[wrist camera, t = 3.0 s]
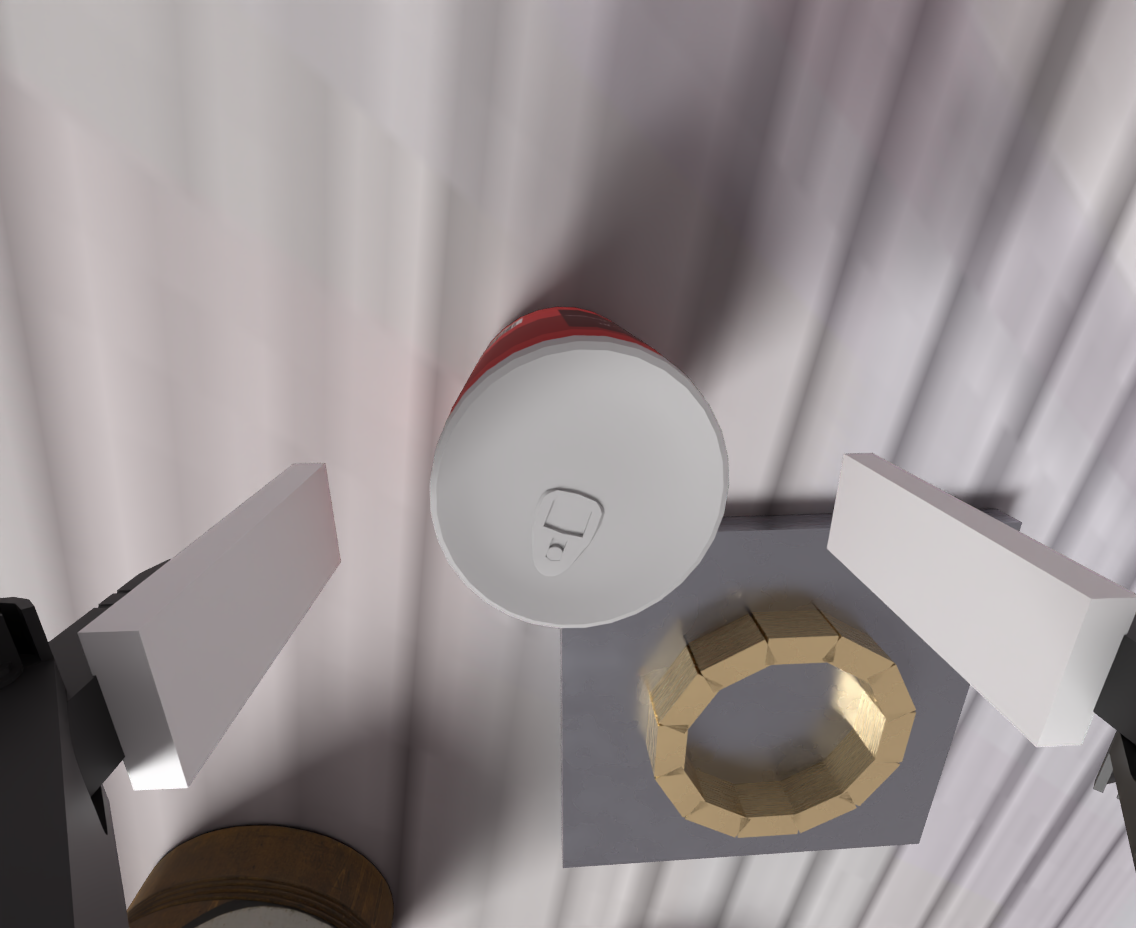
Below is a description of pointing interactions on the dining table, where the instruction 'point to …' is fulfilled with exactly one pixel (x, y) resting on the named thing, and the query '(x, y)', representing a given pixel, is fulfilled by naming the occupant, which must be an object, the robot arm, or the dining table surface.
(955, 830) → the dining table surface
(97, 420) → the dining table surface
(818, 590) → the collar plate
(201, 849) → the wooden container
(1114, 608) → the robot arm
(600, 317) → the canned food
